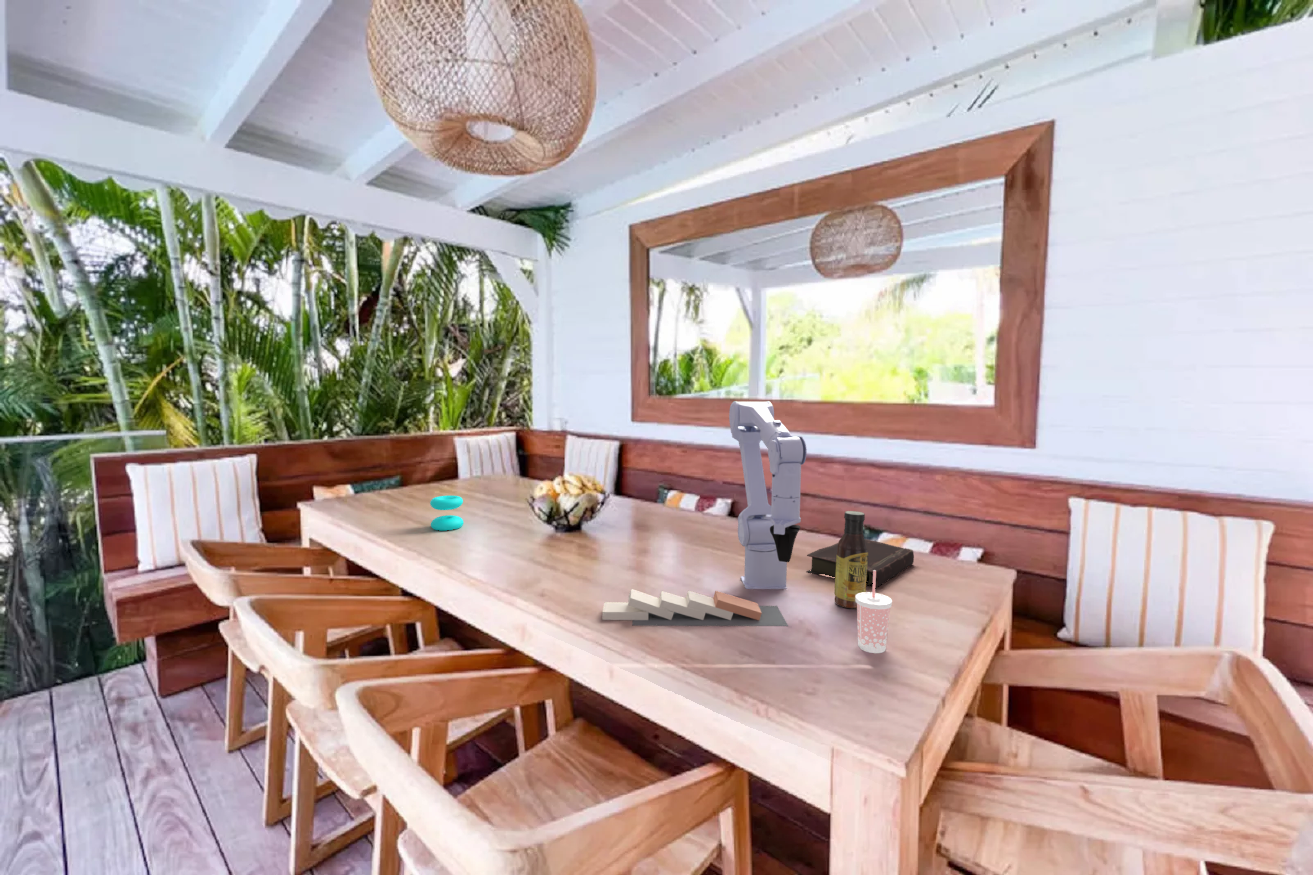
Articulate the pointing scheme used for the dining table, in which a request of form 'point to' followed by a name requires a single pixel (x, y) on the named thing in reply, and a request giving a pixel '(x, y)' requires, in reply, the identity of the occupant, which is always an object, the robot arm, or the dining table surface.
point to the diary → (879, 558)
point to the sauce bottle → (851, 561)
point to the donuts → (449, 520)
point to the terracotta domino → (737, 605)
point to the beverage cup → (872, 619)
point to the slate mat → (717, 619)
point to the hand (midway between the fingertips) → (784, 560)
